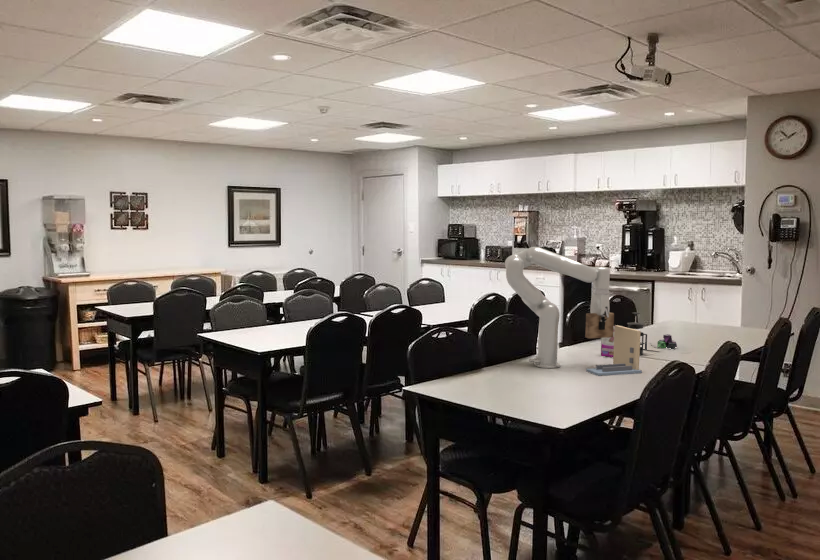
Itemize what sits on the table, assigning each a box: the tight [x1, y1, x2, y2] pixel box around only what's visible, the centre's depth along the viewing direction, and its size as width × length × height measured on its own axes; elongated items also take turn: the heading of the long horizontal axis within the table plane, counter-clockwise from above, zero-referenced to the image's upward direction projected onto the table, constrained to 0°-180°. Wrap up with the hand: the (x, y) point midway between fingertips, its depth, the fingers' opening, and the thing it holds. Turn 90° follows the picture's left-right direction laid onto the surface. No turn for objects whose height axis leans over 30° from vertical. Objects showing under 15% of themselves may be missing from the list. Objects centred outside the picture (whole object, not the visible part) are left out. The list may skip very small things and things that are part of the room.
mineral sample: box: [640, 333, 678, 350], centre depth 381 cm, size 35×35×9 cm
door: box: [584, 312, 615, 339], centre depth 324 cm, size 15×3×12 cm, turn 108°
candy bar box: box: [600, 325, 615, 358], centre depth 351 cm, size 11×5×16 cm, turn 62°
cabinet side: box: [585, 324, 643, 377], centre depth 318 cm, size 24×20×20 cm
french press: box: [626, 311, 648, 357], centre depth 359 cm, size 12×9×23 cm
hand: (599, 328), depth 324 cm, fingers closed on door, 3 cm apart
